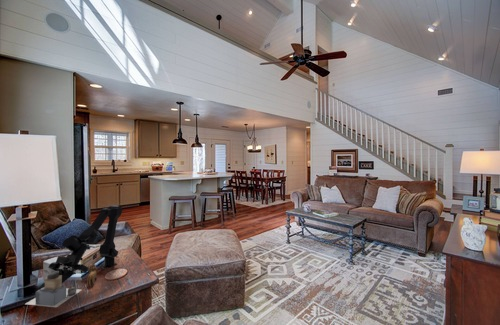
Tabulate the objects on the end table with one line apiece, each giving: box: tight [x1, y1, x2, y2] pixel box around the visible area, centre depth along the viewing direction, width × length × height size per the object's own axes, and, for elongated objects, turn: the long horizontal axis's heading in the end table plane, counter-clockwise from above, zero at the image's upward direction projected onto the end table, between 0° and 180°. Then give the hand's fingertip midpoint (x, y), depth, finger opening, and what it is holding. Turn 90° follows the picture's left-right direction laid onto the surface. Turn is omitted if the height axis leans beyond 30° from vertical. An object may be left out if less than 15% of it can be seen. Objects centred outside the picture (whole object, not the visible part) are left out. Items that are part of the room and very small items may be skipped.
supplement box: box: [42, 256, 64, 284], centre depth 127 cm, size 7×7×13 cm
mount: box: [25, 285, 82, 308], centre depth 112 cm, size 14×17×8 cm
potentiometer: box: [67, 286, 77, 297], centre depth 114 cm, size 4×4×3 cm
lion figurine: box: [86, 263, 98, 288], centre depth 126 cm, size 15×5×9 cm, turn 37°
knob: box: [44, 272, 63, 291], centre depth 109 cm, size 4×5×12 cm
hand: (57, 285), depth 111 cm, fingers closed, pressing on knob
